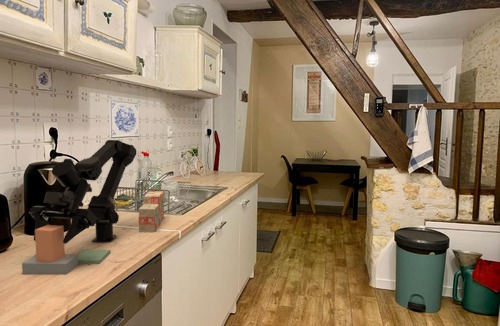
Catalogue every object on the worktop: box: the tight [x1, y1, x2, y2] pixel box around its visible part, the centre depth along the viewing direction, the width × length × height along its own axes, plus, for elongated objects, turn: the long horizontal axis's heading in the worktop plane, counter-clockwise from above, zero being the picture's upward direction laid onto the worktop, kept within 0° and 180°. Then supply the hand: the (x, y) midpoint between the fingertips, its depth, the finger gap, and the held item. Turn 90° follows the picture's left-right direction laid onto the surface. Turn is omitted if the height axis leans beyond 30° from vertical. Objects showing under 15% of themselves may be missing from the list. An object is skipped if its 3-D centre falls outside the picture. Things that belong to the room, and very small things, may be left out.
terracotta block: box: [34, 224, 66, 263], centre depth 101 cm, size 5×5×9 cm
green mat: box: [76, 249, 112, 265], centre depth 111 cm, size 9×9×1 cm
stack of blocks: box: [138, 190, 165, 233], centre depth 147 cm, size 21×6×12 cm, turn 4°
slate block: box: [21, 253, 79, 275], centre depth 102 cm, size 7×12×3 cm, turn 91°
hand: (49, 241), depth 101 cm, fingers open, 9 cm apart
